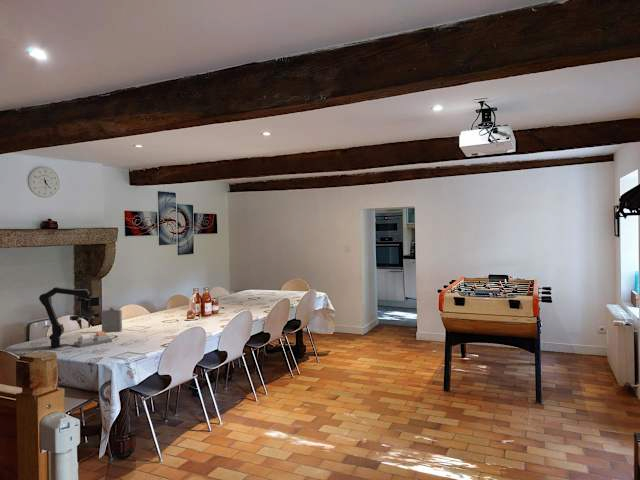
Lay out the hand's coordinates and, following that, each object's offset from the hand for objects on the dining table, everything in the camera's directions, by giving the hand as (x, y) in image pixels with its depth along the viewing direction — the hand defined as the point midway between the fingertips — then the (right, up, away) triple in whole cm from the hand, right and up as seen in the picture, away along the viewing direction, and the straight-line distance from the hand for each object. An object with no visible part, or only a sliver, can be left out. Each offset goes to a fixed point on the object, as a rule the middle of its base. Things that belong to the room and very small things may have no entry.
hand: (85, 328), depth 324 cm
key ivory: (0, -8, 0) cm, 8 cm away
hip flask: (-1, -12, +44) cm, 45 cm away
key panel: (+4, -12, +4) cm, 13 cm away
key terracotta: (+7, -8, +8) cm, 14 cm away
